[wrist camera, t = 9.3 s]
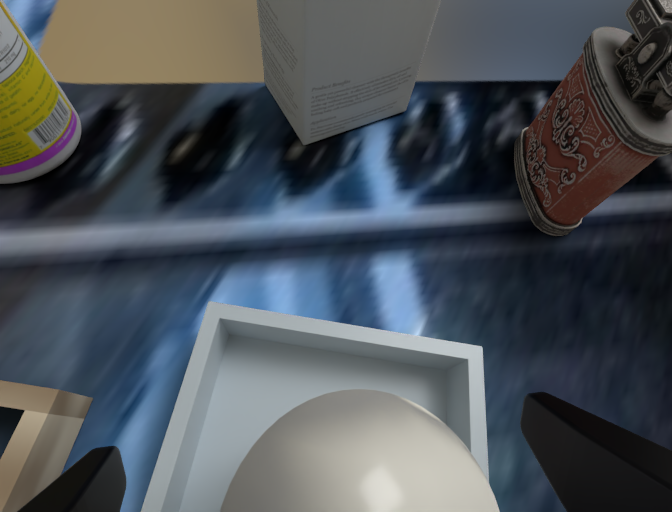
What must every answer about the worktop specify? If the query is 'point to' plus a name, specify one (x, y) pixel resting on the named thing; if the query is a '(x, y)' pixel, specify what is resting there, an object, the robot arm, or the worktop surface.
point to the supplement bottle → (30, 109)
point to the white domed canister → (359, 461)
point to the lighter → (600, 121)
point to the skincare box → (342, 59)
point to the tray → (297, 392)
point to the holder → (37, 440)
